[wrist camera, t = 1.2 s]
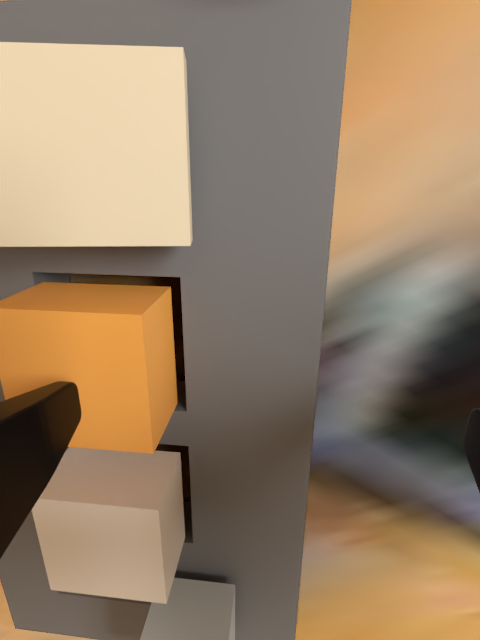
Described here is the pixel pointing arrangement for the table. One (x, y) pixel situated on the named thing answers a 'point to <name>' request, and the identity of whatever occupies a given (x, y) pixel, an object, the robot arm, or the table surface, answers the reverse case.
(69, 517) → the off-white button
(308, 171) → the control panel
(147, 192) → the cream rectangular plate
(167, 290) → the orange button
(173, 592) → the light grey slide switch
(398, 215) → the table surface
